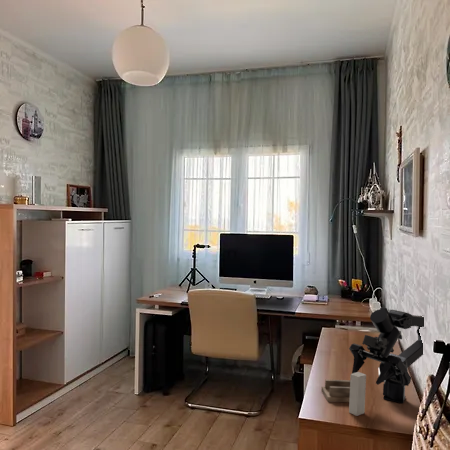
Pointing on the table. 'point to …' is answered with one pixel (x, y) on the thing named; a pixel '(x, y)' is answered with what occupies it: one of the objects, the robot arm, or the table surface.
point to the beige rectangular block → (357, 393)
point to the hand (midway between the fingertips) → (364, 379)
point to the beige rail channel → (336, 390)
